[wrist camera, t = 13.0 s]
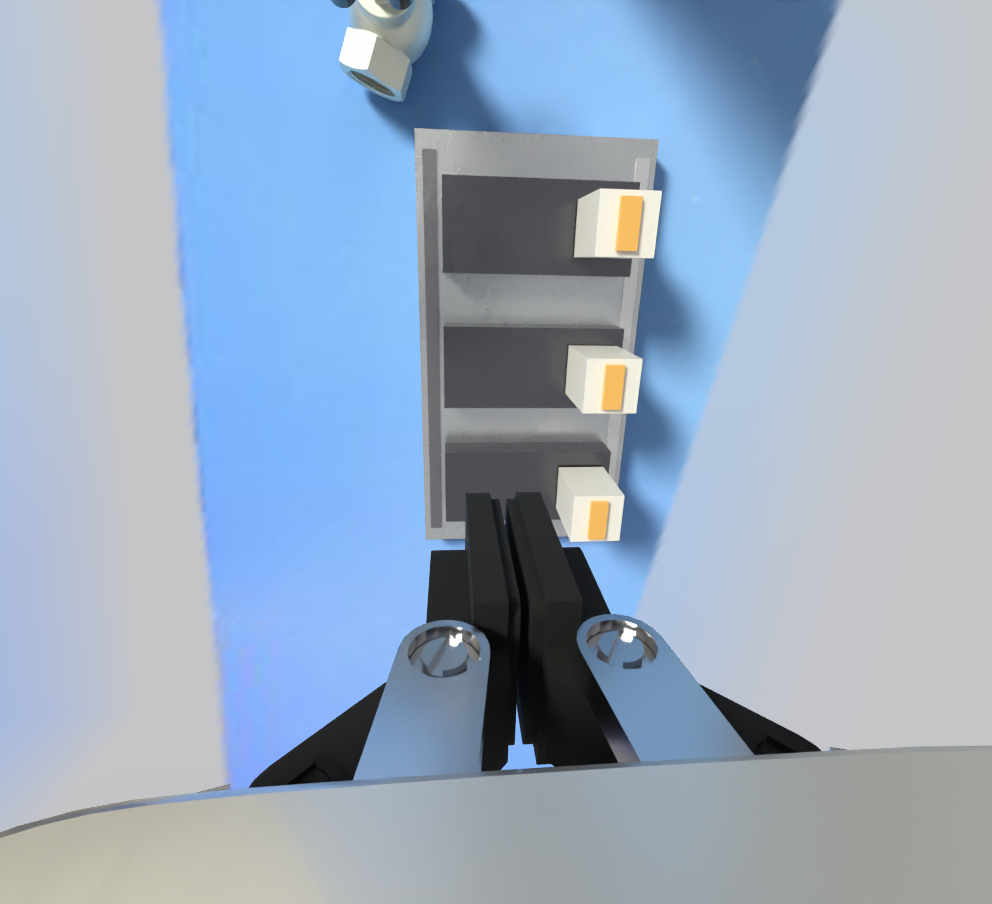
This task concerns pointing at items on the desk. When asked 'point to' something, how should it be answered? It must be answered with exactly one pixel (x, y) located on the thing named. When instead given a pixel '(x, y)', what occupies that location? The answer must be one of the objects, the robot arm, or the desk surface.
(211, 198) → the desk surface
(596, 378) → the handle mid
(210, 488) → the desk surface
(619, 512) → the handle
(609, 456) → the panel
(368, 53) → the valve
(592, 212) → the handle
